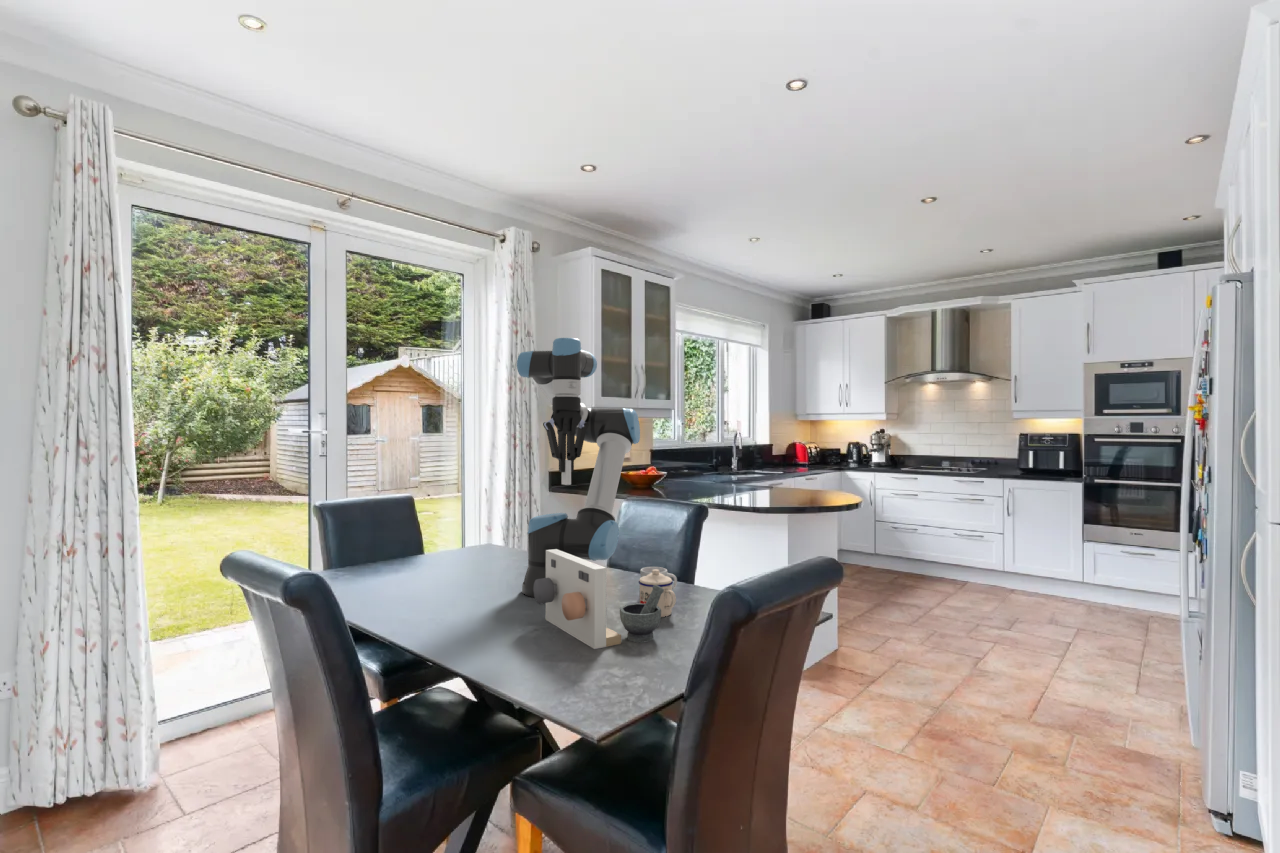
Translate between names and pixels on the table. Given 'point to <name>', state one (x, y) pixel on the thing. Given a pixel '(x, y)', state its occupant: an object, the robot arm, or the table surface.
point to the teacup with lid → (666, 597)
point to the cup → (663, 571)
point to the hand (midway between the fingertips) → (566, 484)
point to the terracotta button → (573, 605)
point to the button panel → (592, 585)
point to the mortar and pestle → (642, 617)
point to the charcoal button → (544, 590)
